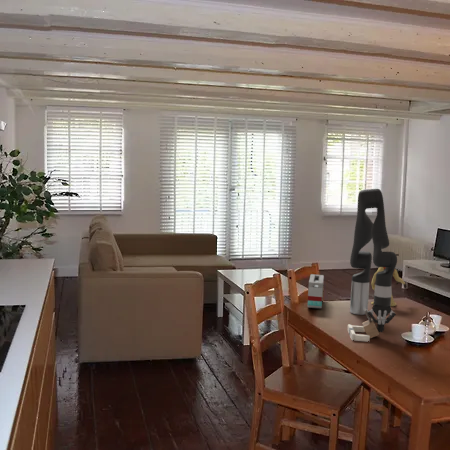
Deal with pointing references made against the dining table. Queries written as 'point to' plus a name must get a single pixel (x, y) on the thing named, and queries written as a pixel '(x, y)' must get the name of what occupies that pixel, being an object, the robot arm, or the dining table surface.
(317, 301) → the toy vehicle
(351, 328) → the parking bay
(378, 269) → the toy
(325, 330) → the dining table surface
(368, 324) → the tan block
